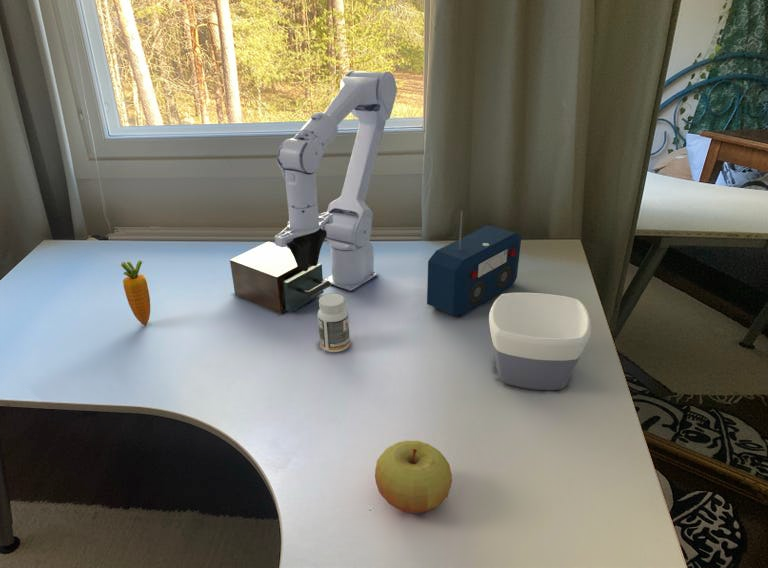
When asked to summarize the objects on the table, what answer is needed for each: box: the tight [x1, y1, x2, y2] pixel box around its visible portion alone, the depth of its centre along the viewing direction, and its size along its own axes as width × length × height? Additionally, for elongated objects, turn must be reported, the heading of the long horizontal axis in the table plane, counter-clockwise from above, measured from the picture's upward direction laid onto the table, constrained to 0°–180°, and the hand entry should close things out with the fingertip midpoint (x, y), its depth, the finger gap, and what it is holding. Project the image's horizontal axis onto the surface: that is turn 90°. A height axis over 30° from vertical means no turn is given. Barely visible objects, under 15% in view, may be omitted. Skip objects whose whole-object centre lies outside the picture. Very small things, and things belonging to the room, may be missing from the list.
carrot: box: [120, 260, 151, 326], centre depth 127 cm, size 5×5×15 cm
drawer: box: [280, 262, 332, 313], centre depth 133 cm, size 18×10×7 cm, turn 46°
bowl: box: [488, 292, 592, 391], centre depth 103 cm, size 15×15×11 cm
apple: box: [374, 440, 453, 514], centre depth 83 cm, size 10×10×8 cm
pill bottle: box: [317, 293, 351, 353], centre depth 116 cm, size 6×6×10 cm
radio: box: [426, 210, 522, 317], centre depth 124 cm, size 21×9×20 cm, turn 129°
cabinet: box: [229, 241, 313, 315], centre depth 136 cm, size 15×12×9 cm
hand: (307, 267), depth 126 cm, fingers closed
